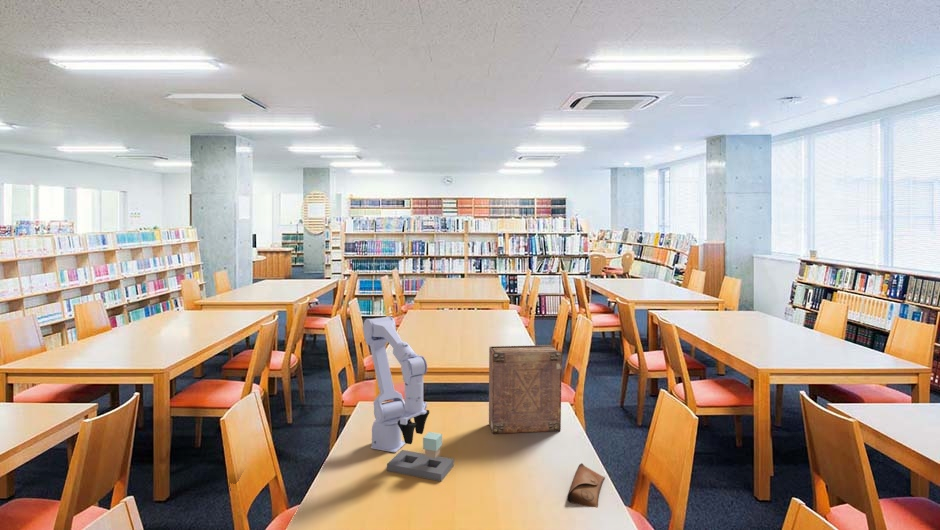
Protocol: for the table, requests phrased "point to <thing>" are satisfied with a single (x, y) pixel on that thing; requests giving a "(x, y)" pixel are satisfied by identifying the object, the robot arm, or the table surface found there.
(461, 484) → the table surface
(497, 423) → the book
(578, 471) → the sunglasses case
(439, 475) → the grey peg board
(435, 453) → the plug
